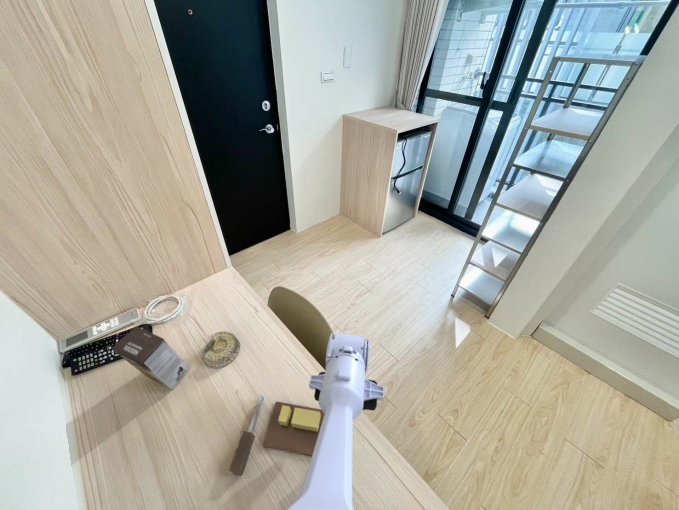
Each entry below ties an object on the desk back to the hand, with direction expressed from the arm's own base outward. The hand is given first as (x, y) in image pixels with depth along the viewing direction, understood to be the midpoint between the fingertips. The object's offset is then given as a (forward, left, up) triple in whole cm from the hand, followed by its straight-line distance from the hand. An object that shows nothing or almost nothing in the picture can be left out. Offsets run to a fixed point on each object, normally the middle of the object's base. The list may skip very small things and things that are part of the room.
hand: (345, 401), depth 58 cm
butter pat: (-3, +14, -8) cm, 16 cm away
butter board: (-5, +11, -9) cm, 14 cm away
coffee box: (+2, +48, -9) cm, 48 cm away
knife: (-8, +21, -8) cm, 24 cm away
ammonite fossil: (+10, +37, -9) cm, 39 cm away
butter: (-3, +9, -8) cm, 12 cm away
